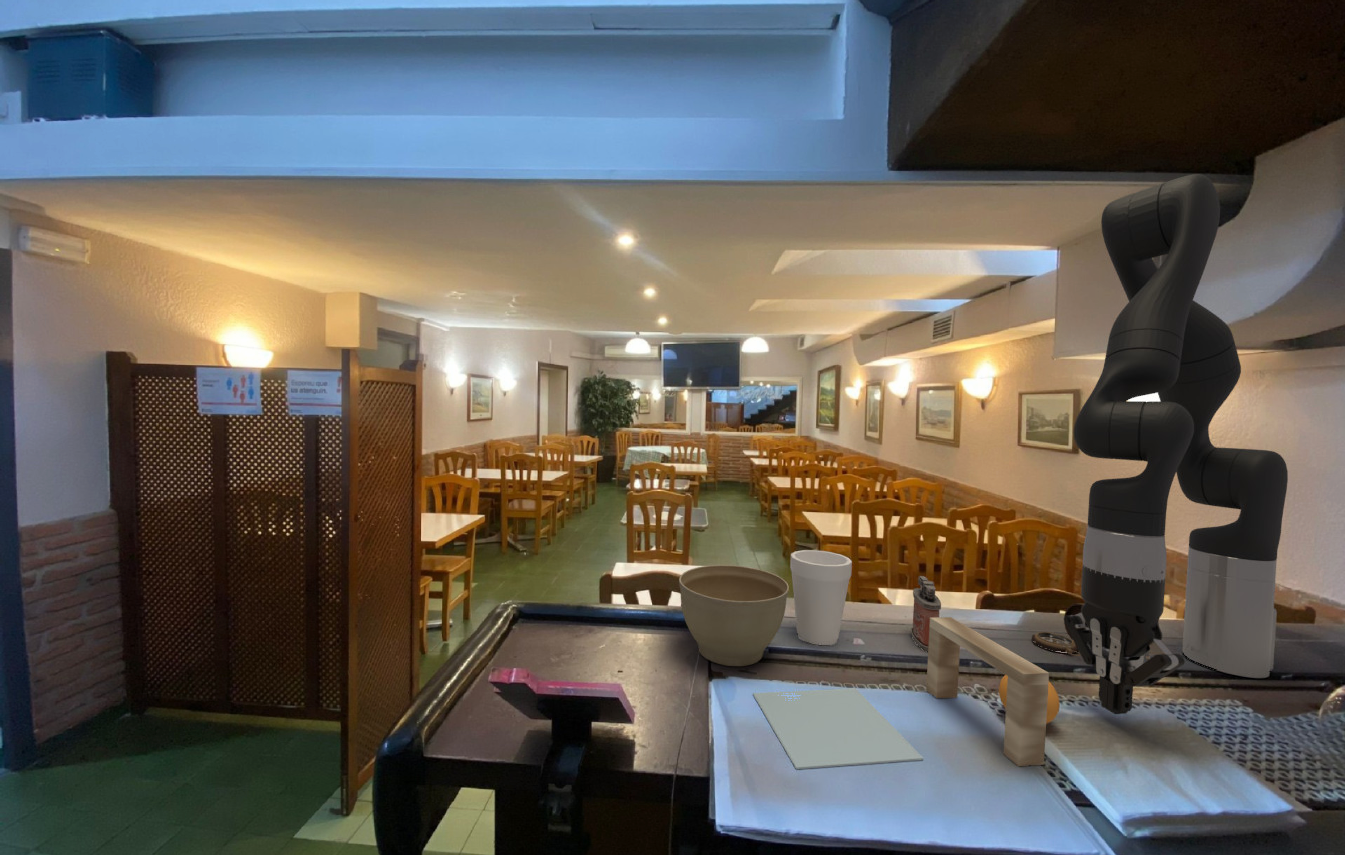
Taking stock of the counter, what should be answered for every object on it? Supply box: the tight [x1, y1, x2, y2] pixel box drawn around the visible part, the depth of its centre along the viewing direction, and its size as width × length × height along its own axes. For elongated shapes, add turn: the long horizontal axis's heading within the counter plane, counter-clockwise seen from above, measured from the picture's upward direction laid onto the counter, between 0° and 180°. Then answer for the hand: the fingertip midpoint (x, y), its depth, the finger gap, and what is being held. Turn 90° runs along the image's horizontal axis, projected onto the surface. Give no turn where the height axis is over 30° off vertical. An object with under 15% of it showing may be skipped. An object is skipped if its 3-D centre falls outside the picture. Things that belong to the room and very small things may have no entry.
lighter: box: [910, 575, 942, 652], centre depth 84 cm, size 8×3×10 cm, turn 168°
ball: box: [998, 674, 1061, 725], centre depth 62 cm, size 6×6×6 cm
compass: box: [1031, 602, 1084, 657], centre depth 84 cm, size 8×8×7 cm
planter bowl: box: [678, 564, 790, 667], centre depth 78 cm, size 16×16×11 cm
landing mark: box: [752, 687, 924, 770], centre depth 60 cm, size 14×14×1 cm
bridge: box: [925, 616, 1050, 767], centre depth 62 cm, size 3×15×10 cm, turn 9°
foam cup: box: [789, 549, 853, 645], centre depth 84 cm, size 10×9×13 cm
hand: (1114, 710), depth 63 cm, fingers closed
